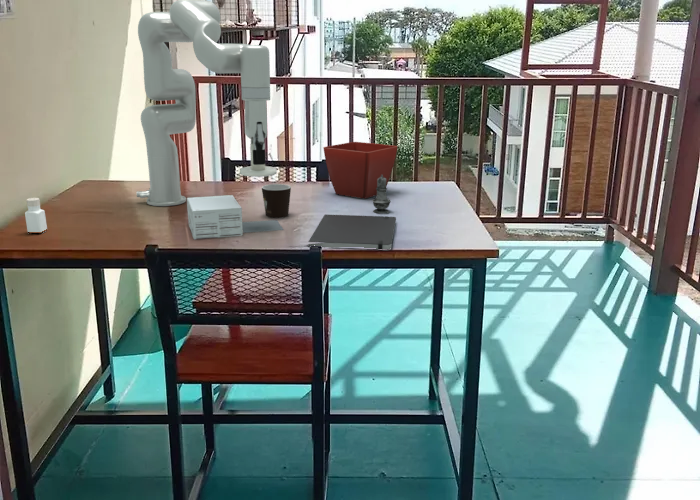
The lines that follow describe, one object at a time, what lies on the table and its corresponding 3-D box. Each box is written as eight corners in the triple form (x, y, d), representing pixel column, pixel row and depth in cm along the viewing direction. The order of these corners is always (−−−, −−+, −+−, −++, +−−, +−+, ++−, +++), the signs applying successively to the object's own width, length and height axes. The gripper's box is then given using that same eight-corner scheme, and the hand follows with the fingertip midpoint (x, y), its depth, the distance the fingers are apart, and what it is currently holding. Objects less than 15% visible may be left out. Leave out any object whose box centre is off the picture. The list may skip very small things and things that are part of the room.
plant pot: (353, 186, 241) (354, 140, 236) (397, 192, 230) (398, 145, 225) (322, 195, 226) (321, 147, 221) (367, 202, 215) (367, 152, 210)
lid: (242, 177, 171) (241, 147, 169) (237, 170, 180) (236, 141, 178) (279, 175, 174) (279, 146, 171) (273, 168, 183) (272, 140, 180)
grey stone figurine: (394, 211, 204) (395, 174, 200) (382, 215, 200) (383, 176, 196) (380, 208, 208) (380, 171, 204) (368, 211, 204) (368, 174, 200)
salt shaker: (34, 230, 181) (29, 197, 178) (48, 230, 181) (43, 197, 178) (27, 234, 177) (21, 200, 174) (41, 234, 177) (36, 200, 174)
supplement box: (244, 241, 173) (242, 207, 170) (194, 245, 169) (191, 211, 166) (234, 225, 188) (233, 193, 185) (188, 228, 184) (186, 196, 182)
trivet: (243, 237, 175) (243, 232, 175) (239, 227, 185) (238, 222, 185) (283, 235, 178) (283, 229, 178) (277, 224, 188) (276, 219, 188)
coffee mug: (289, 223, 189) (289, 190, 186) (260, 223, 190) (259, 190, 187) (294, 213, 201) (293, 182, 198) (266, 213, 201) (265, 181, 198)
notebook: (324, 221, 194) (308, 249, 168) (324, 214, 194) (308, 240, 167) (396, 223, 192) (391, 252, 166) (396, 216, 191) (391, 244, 165)
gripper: (237, 91, 177) (240, 158, 183) (245, 97, 162) (248, 169, 168) (265, 91, 179) (266, 157, 185) (275, 96, 164) (276, 168, 170)
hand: (257, 162), depth 176 cm, fingers closed on lid, 3 cm apart
